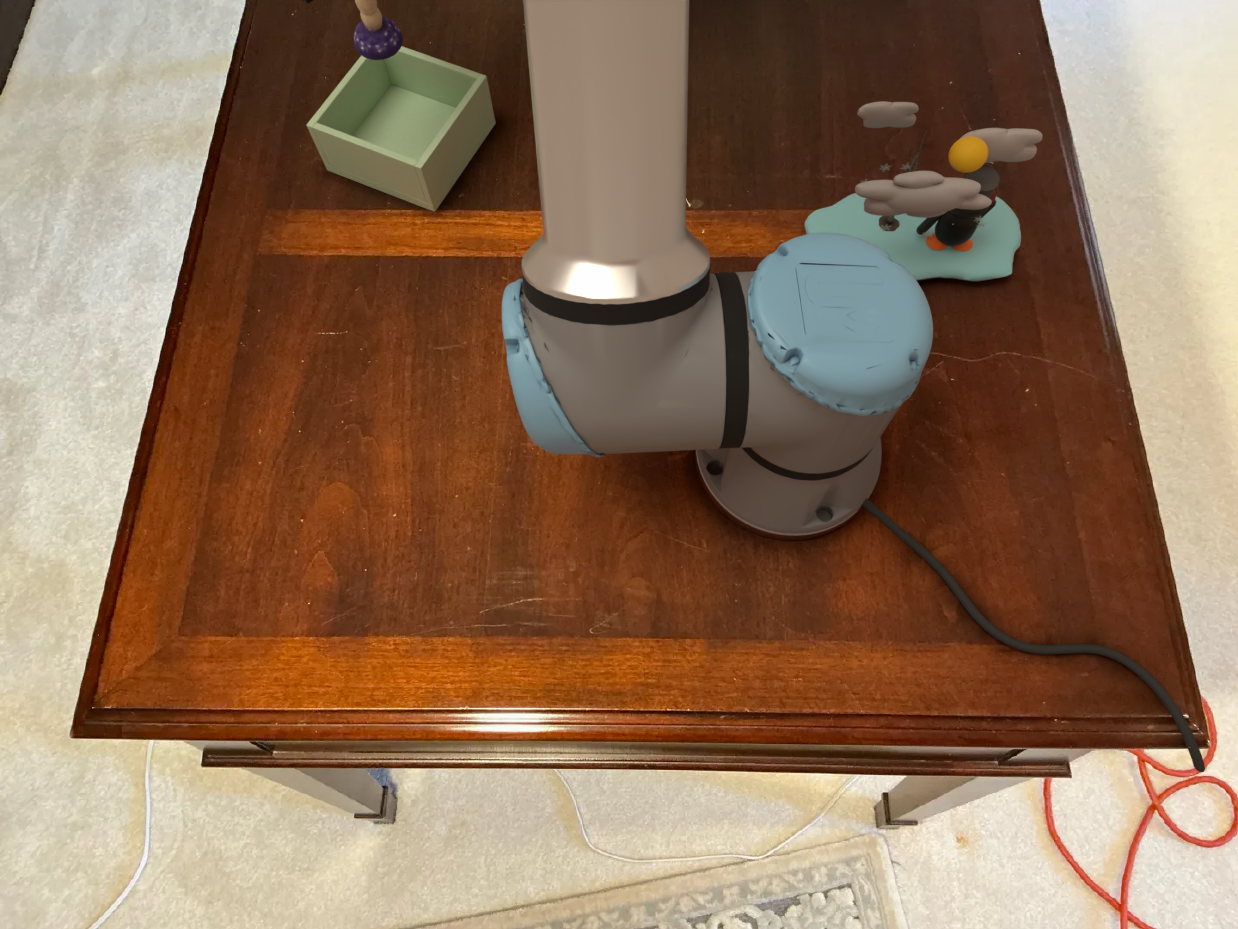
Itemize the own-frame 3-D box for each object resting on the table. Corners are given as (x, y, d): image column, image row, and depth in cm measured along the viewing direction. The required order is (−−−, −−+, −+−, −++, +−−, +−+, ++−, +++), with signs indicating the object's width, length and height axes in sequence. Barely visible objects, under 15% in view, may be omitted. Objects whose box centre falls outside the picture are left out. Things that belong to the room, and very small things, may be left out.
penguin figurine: (1006, 200, 82) (1083, 72, 68) (1026, 293, 78) (1113, 177, 64) (798, 201, 82) (833, 74, 68) (808, 295, 78) (846, 179, 64)
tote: (496, 123, 86) (486, 75, 81) (435, 212, 82) (420, 168, 77) (391, 85, 89) (375, 36, 83) (327, 170, 84) (305, 124, 79)
